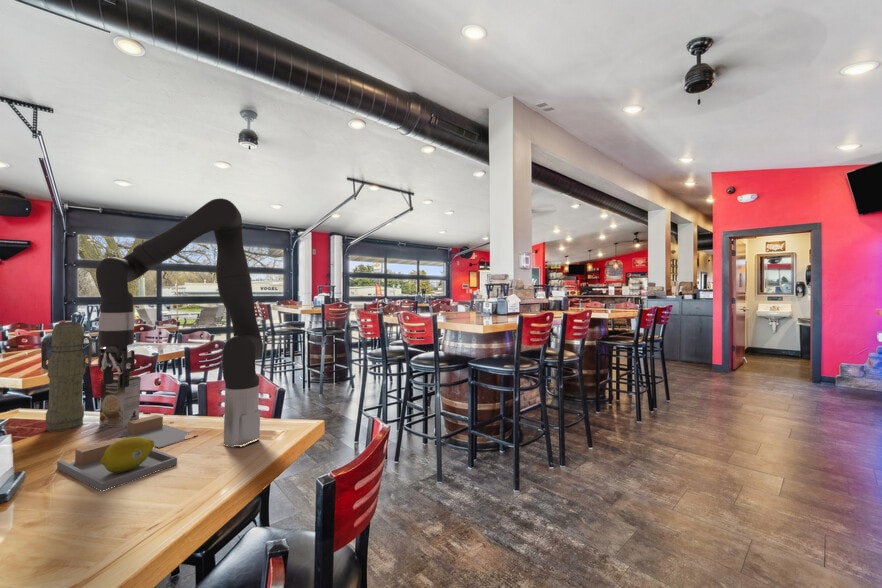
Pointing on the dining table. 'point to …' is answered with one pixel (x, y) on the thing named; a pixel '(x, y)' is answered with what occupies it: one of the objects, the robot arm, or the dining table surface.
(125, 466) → the lemon
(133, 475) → the gray tray
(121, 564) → the dining table surface
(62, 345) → the thermos
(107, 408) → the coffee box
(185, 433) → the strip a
